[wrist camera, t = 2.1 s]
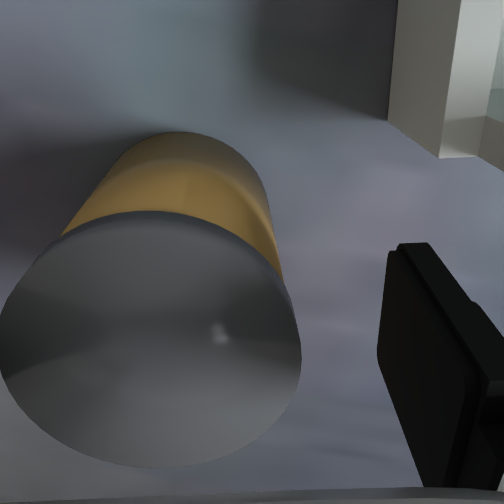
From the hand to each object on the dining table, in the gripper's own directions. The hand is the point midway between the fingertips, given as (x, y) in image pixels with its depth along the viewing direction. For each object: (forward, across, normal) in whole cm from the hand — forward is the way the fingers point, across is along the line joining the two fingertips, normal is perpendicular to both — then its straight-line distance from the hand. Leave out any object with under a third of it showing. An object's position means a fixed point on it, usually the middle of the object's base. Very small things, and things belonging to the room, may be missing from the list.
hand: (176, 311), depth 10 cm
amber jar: (+7, +1, +1) cm, 7 cm away
